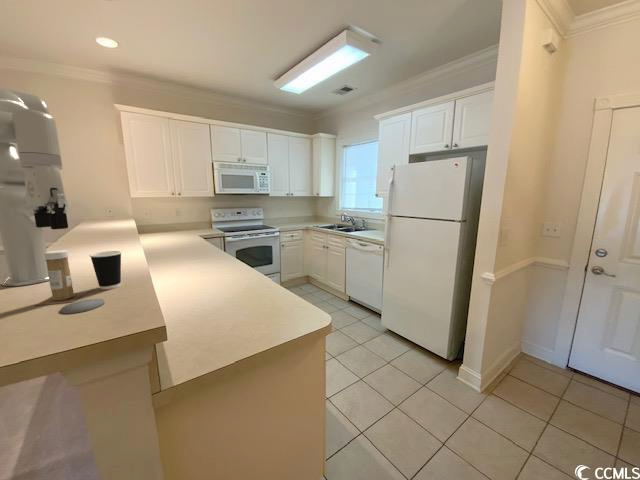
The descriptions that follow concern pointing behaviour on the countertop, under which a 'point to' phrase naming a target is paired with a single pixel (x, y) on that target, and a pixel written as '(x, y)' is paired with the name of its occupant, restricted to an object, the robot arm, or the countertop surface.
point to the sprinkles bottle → (59, 274)
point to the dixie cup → (107, 268)
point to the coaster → (82, 306)
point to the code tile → (72, 299)
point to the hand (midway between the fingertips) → (52, 227)
